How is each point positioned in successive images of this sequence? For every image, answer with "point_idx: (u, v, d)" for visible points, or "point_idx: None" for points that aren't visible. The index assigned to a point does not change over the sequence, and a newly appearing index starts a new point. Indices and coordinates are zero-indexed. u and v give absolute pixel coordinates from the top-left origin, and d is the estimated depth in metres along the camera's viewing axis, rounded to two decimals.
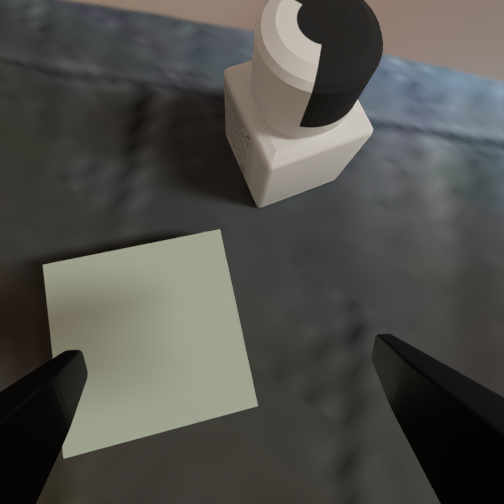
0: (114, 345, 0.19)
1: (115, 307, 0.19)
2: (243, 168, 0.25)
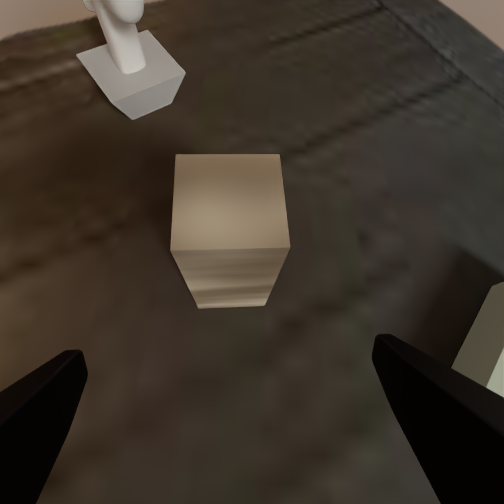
0: None
1: None
2: None
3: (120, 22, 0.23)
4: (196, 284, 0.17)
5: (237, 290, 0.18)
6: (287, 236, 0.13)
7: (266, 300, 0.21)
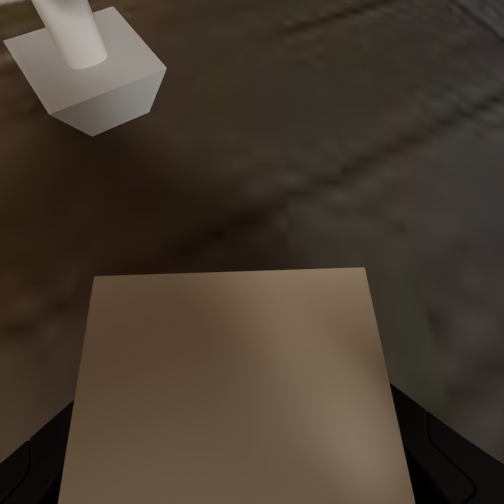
0: None
1: None
2: None
3: None
4: None
5: None
6: None
7: None
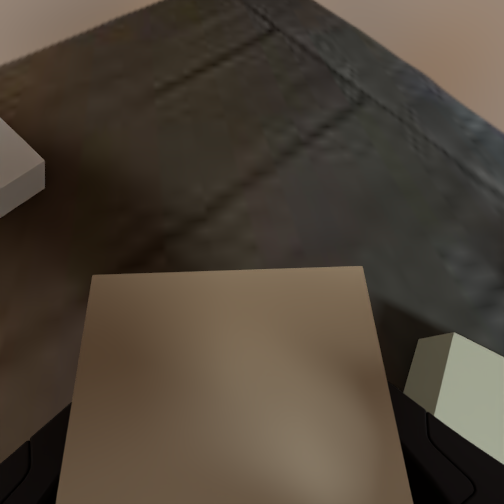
0: None
1: None
2: None
3: None
4: None
5: None
6: None
7: None
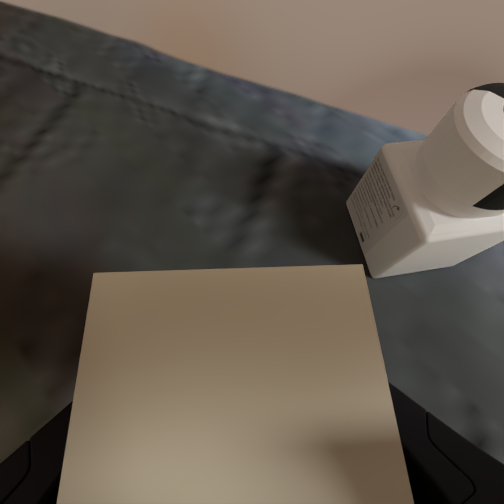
0: None
1: None
2: (365, 236, 0.25)
3: None
4: None
5: None
6: None
7: None
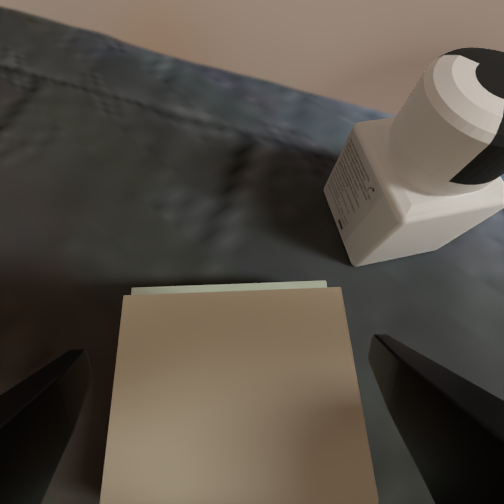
0: None
1: None
2: (343, 223, 0.23)
3: None
4: None
5: None
6: None
7: None
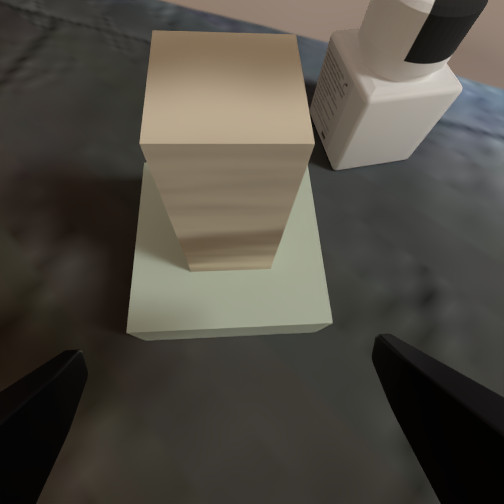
0: None
1: None
2: (325, 132, 0.27)
3: None
4: (184, 225, 0.13)
5: (237, 238, 0.14)
6: (310, 130, 0.09)
7: (273, 259, 0.17)
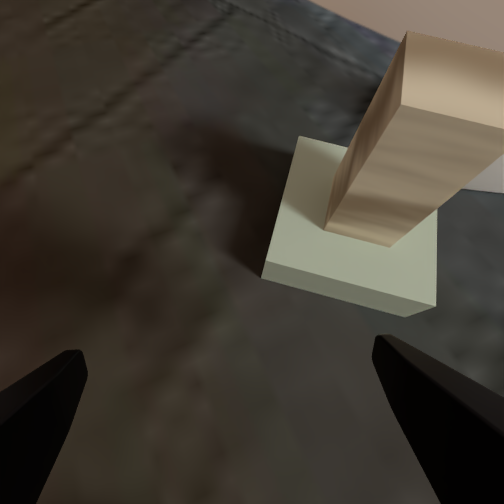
0: None
1: None
2: None
3: None
4: (363, 181, 0.16)
5: (392, 206, 0.17)
6: None
7: (400, 237, 0.20)
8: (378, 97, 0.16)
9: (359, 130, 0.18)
